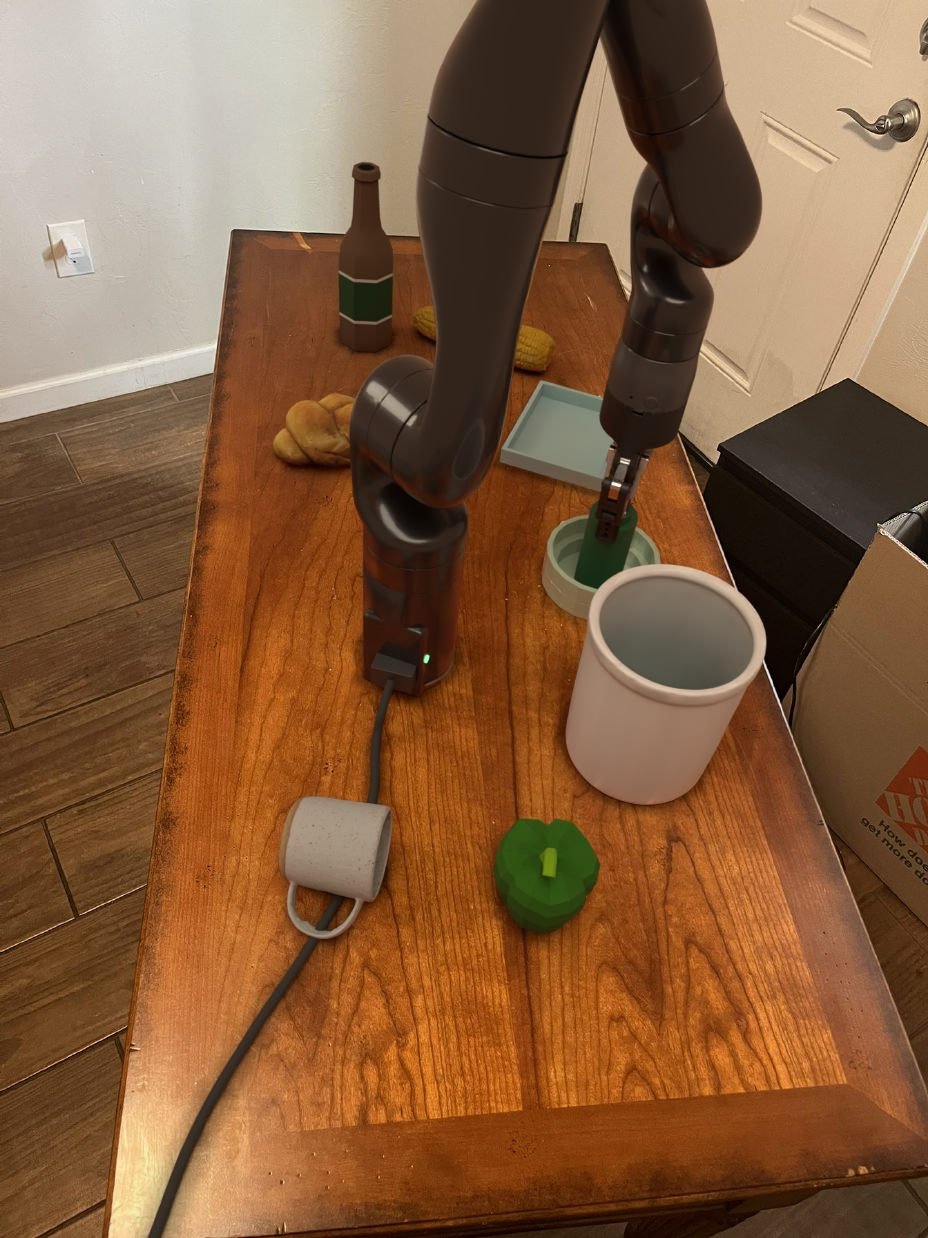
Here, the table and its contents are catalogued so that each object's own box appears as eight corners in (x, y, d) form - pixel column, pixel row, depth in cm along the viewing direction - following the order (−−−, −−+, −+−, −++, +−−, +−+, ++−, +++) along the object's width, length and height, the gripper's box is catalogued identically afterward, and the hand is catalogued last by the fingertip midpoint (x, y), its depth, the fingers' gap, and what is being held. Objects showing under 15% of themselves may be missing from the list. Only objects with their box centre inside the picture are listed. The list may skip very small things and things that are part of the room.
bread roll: (277, 480, 112) (272, 426, 106) (269, 430, 118) (264, 376, 112) (384, 471, 115) (385, 417, 109) (370, 422, 121) (371, 369, 115)
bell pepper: (516, 837, 83) (531, 777, 76) (599, 885, 81) (623, 827, 73) (467, 913, 78) (478, 857, 71) (555, 967, 76) (575, 914, 68)
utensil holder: (533, 702, 93) (560, 580, 80) (663, 667, 98) (710, 546, 84) (597, 829, 85) (640, 716, 71) (738, 785, 89) (803, 670, 76)
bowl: (635, 640, 100) (645, 608, 96) (526, 604, 102) (532, 572, 98) (660, 565, 108) (670, 534, 104) (558, 534, 110) (565, 502, 106)
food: (554, 363, 133) (561, 326, 129) (542, 384, 130) (548, 346, 125) (418, 323, 137) (420, 285, 133) (402, 342, 134) (404, 304, 129)
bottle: (612, 603, 102) (639, 510, 92) (568, 588, 103) (590, 495, 93) (623, 573, 106) (650, 480, 95) (580, 559, 106) (603, 466, 96)
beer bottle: (330, 328, 134) (325, 156, 117) (381, 319, 137) (384, 149, 119) (349, 358, 130) (347, 183, 112) (401, 348, 133) (407, 176, 115)
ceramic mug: (302, 818, 83) (296, 773, 77) (393, 835, 82) (395, 790, 77) (267, 934, 76) (258, 894, 70) (366, 953, 76) (366, 914, 70)
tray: (600, 495, 115) (604, 479, 113) (499, 465, 117) (501, 448, 115) (631, 422, 125) (635, 406, 123) (538, 395, 128) (540, 379, 126)
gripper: (627, 334, 90) (595, 471, 103) (588, 415, 81) (557, 555, 94) (704, 355, 89) (661, 491, 102) (672, 440, 80) (630, 578, 93)
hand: (612, 521), depth 98 cm, fingers closed on bottle, 5 cm apart
